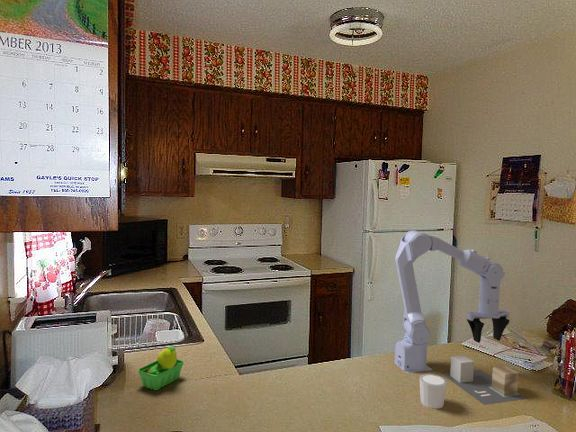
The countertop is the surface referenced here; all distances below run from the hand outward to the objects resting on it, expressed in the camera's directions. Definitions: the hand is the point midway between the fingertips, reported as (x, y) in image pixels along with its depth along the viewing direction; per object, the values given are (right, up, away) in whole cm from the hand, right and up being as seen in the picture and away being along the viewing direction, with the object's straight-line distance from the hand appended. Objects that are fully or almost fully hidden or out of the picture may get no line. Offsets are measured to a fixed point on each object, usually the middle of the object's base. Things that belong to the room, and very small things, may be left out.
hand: (486, 340), depth 126 cm
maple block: (-2, -10, -15) cm, 18 cm away
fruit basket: (-100, -9, -12) cm, 101 cm away
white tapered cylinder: (-25, -11, -21) cm, 35 cm away
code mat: (-7, -10, -12) cm, 17 cm away
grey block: (-11, -9, -8) cm, 16 cm away
